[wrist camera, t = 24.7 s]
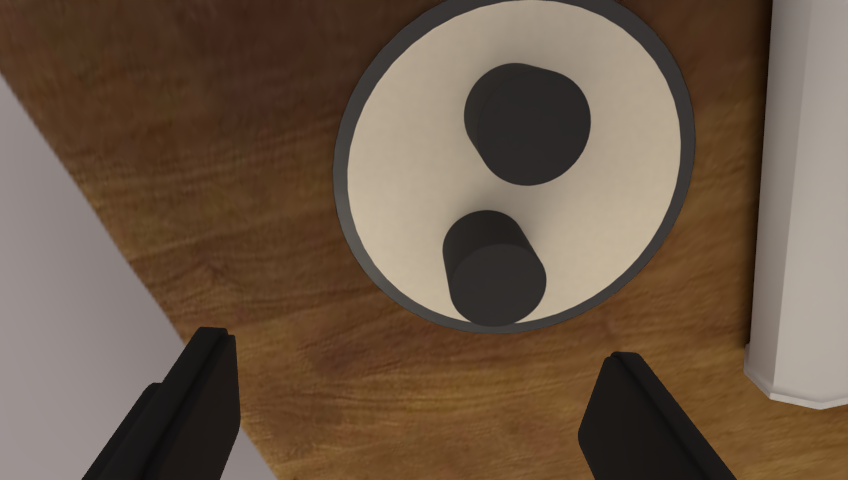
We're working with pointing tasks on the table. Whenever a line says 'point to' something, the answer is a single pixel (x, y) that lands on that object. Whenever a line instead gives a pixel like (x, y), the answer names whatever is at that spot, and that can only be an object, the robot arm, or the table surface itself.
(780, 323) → the tube
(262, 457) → the table surface
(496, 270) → the eye dot
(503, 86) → the eye dot
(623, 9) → the face circle
